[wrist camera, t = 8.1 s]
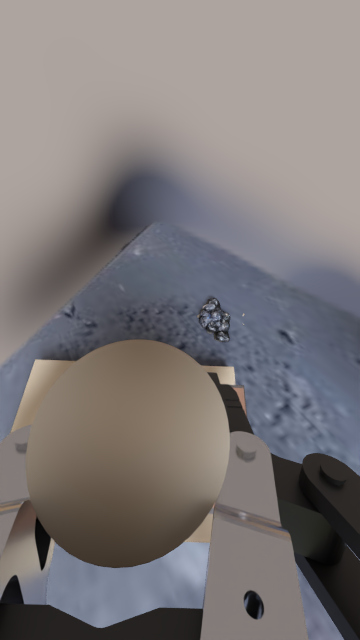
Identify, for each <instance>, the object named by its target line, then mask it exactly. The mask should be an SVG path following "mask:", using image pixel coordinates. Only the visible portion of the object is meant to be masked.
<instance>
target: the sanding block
mask: <svg viewBox="0 0 360 640" xmlns="http://www.w3.org/2000/svg"><path fill="white" fill-rule="evenodd" d="M230 386H231V387H232V388H233V389H234V390H235V391H236V392H237V394H238V397H239V399H240V402H241V404H242V407H243V409H244V411H245V414H246V416H247V410H246V401H245V391H244V385H230ZM229 451H230V432H229V424H228V418H227V414H226V410H225V406H224V403H223V401H222V398H221V395H220V393H219V391H218V389H217V387H216V385H215V383H214V382H213V380H212V379H211V378H210V376H209V375H208V373H207V372H206V371H205V370H204V369H203V368H202V366H201V365H200V364H199V363H197V362H196V361H195V360H194V359H193V358H192V357H190V356H189V355H187V354H186V353H184V352H183V351H181V350H179V349H177V348H175V347H173V346H171V345H168V344H165V343H162V342H157V341H153V340H144V339H134V340H124V341H119V342H115V343H111V344H108V345H105V346H103V347H100V348H98V349H96V350H94V351H92V352H90V353H88V354H86V355H85V356H83V357H82V358H80V359H79V360H77V361H76V362H75V363H74V364H73V365H71V366H70V367H69V368H68V369H67V370H66V371H65V372H64V373H63V374H62V375H61V376H60V377H59V378H58V379H57V381H56V382H55V383H54V384H53V386H52V387H51V388H50V390H49V391H48V393H47V394H46V396H45V398H44V399H43V401H42V403H41V405H40V407H39V409H38V411H37V413H36V416H35V418H34V421H33V424H32V427H31V431H30V435H29V439H28V444H27V452H26V479H27V487H28V491H29V495H30V499H31V503H32V506H33V508H34V510H35V513H36V515H37V517H38V519H39V521H40V522H41V524H42V526H43V527H44V529H45V530H46V532H47V533H48V534H49V535H50V537H51V538H52V539H53V540H54V541H55V542H56V543H57V544H58V545H59V546H60V547H61V548H63V549H64V550H65V551H67V552H68V553H69V554H71V555H73V556H74V557H76V558H78V559H80V560H82V561H84V562H87V563H91V564H94V565H97V566H102V567H111V568H122V567H133V566H137V565H141V564H145V563H149V562H151V561H153V560H155V559H158V558H160V557H162V556H164V555H166V554H167V553H169V552H171V551H172V550H174V549H175V548H177V547H178V546H179V545H181V544H182V543H183V542H184V541H185V540H186V539H188V538H189V537H190V536H191V535H192V534H193V533H194V532H195V530H196V529H197V528H198V527H199V526H200V525H201V524H202V522H203V521H204V519H205V518H206V516H207V515H208V514H213V513H214V505H215V501H216V499H217V497H218V495H219V493H220V490H221V487H222V484H223V482H224V479H225V475H226V470H227V466H228V460H229Z"/></svg>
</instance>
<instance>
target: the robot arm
mask: <svg viewBox="0 0 360 640" xmlns="http://www.w3.org/2000/svg"><path fill="white" fill-rule="evenodd" d="M207 373H208V375H209V376H210V378H211V379H212V380H213V382H214V383H215V385H216V387H217V389H218V391H219V393H220V395H221V398H222V401H223V403H224V406H225V410H226V414H227V418H228V424H229V432H230V451H229V460H228V466H227V470H226V475H225V479H224V482H223V484H222V487H221V490H220V493H219V495H218V497H217V499H216V501H215V505H214V513H213V522H212V530H211V539H210V548H209V556H208V565H207V573H206V582H205V591H204V599H203V607H202V609H190V608H157V609H155V610H152V611H149V612H146V613H144V614H141V615H138V616H135V617H133V618H130V619H127V620H124V621H122V622H119V623H116V624H113V625H111V626H108V627H105V628H96V627H93V626H91V625H89V624H87V623H85V622H83V621H81V620H79V619H77V618H75V617H73V616H71V615H69V614H67V613H65V612H63V611H61V610H59V609H56V608H54V607H52V606H50V605H46V591H47V581H48V575H49V570H50V565H51V560H52V555H53V550H54V545H55V541H54V540H53V539H52V538H51V537H50V535H49V534H48V533H47V532H46V530H45V529H44V527H43V526H42V524H41V522H40V521H39V519H38V517H37V515H36V513H35V510H34V508H33V506H32V503H31V499H30V495H29V491H28V487H27V479H26V452H27V444H28V439H29V435H30V431H31V427H32V425H28V426H25V427H22V428H20V429H17V430H15V431H14V432H12V433H11V434H9V435H8V436H7V437H5V438H4V439H3V440H2V441H1V443H0V640H308V634H307V628H306V622H305V616H304V610H303V604H302V599H301V593H300V587H299V581H298V575H297V569H296V563H297V565H298V567H299V568H300V570H301V571H302V573H303V575H304V576H305V578H306V579H307V581H308V583H309V584H310V586H311V587H312V589H313V590H314V592H315V594H316V595H317V597H318V598H319V600H320V602H321V603H322V605H323V606H324V608H325V610H326V611H327V613H328V614H329V616H330V617H331V619H332V621H333V622H334V624H335V625H336V627H337V629H338V630H339V632H340V633H341V635H342V637H343V638H344V640H360V560H359V559H360V476H359V475H357V474H356V473H355V472H354V471H353V470H352V469H350V468H349V467H348V466H347V465H345V464H344V463H342V462H341V461H339V460H337V459H335V458H333V457H331V456H328V455H325V454H319V453H313V454H309V455H307V456H306V457H305V458H304V459H303V463H302V464H300V463H296V462H293V461H290V460H286V459H283V458H280V457H278V456H275V455H273V454H272V453H270V450H269V448H268V446H267V445H266V444H265V443H264V442H263V441H262V440H261V439H260V438H258V437H257V436H255V435H254V434H253V431H252V429H251V426H250V424H249V421H248V419H247V416H246V414H245V411H244V409H243V407H242V404H241V402H240V399H239V397H238V394H237V392H236V391H235V390H234V389H233V388H232V387H231V386H230V385H229V384H220V381H219V378H218V374H217V373H215V372H207ZM347 545H348V546H349V547H350V549H351V550H352V551H353V552H354V553H355V554H354V553H353V552H352V551H351V550H350V549H349V547H348V546H347ZM355 555H356V556H357V557H358V558H359V559H358V558H357V557H356V556H355ZM295 562H296V563H295Z"/></svg>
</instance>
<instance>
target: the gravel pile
mask: <svg viewBox="0 0 360 640" xmlns="http://www.w3.org/2000/svg"><path fill="white" fill-rule="evenodd" d="M244 315H245V314H243V316H244ZM197 317H198V318H199V323H200V325H201V326H202V327H203V328H206V329H207V333H210V334H212V333H214V339H215V340H217V341H219V342H228V341H229V339H230V338H229V334H228V330H229V327H230V324H229V321H230V315H229V313H225V312H224V311H222V310H221V308H220V303H219V301H218V300H217V299H216V298H212V299H209V300H208V301H207V303H206V304H205V305H204V306H203V309H202V310H201V313H200V314H199V315H198V316H197ZM243 325H244V324H243Z"/></svg>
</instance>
